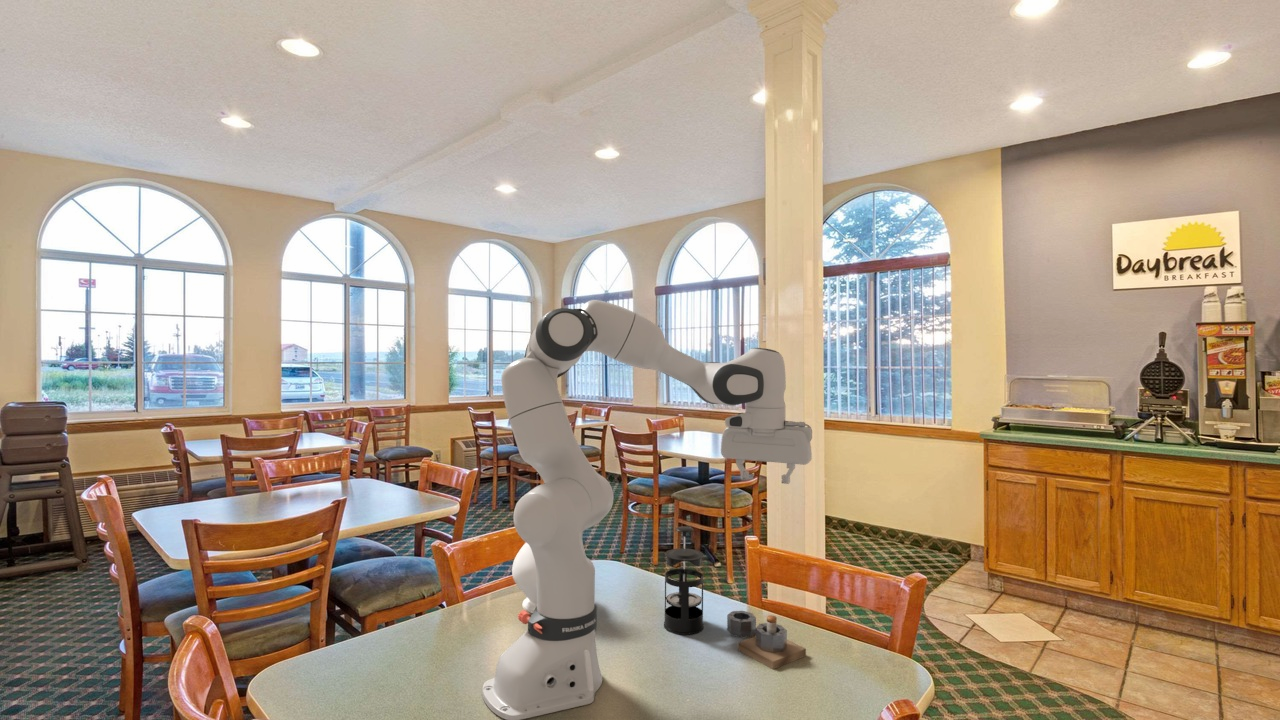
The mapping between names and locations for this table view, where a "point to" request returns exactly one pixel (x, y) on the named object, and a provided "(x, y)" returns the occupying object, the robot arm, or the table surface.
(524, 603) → the decorative vase
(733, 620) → the grey octagonal ring
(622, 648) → the table surface
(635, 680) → the table surface
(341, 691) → the table surface
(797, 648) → the keeper
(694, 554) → the french press
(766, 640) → the grey octagonal nut
